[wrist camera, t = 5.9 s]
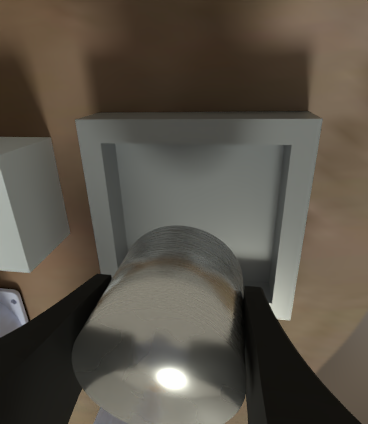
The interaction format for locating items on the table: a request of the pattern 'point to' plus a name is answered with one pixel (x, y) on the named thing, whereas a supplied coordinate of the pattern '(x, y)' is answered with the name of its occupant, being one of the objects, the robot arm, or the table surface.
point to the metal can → (168, 333)
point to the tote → (205, 185)
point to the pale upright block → (29, 203)
